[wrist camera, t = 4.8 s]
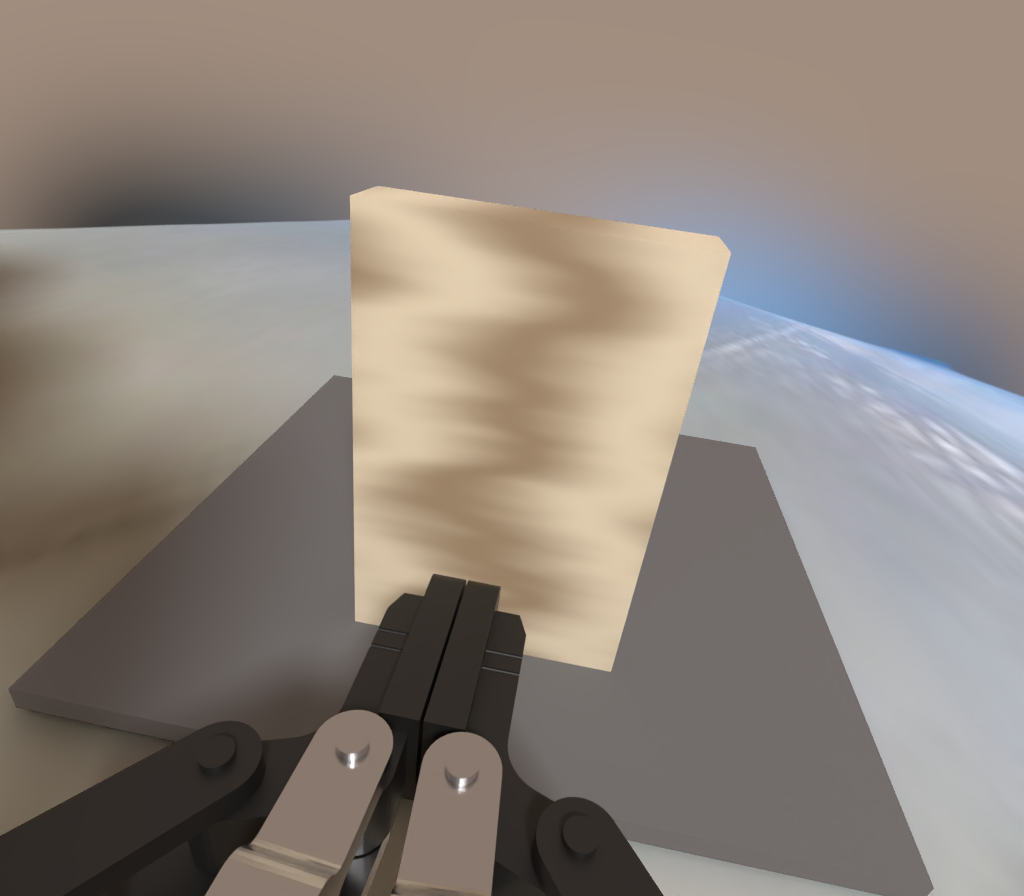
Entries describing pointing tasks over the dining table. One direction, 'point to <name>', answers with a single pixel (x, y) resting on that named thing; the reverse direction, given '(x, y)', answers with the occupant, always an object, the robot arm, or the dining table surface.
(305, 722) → the rubber mat
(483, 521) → the birch tile
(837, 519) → the dining table surface
